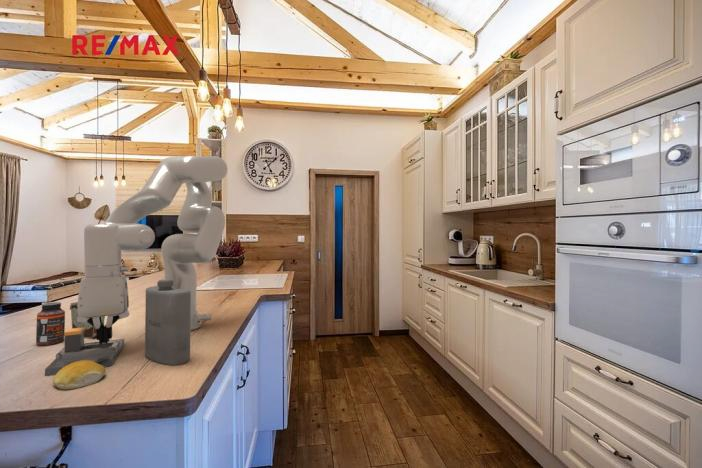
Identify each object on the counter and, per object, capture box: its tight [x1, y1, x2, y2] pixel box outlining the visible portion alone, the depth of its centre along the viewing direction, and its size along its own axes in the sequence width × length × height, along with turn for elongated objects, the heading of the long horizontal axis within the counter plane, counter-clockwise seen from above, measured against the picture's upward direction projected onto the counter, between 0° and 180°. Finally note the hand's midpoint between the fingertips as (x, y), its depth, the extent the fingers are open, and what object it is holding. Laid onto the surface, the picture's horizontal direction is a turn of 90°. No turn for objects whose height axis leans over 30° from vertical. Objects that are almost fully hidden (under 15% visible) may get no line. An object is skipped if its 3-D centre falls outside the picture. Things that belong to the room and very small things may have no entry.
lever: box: [64, 327, 85, 352], centre depth 79 cm, size 3×3×6 cm
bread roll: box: [52, 360, 107, 390], centre depth 68 cm, size 8×9×4 cm
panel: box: [44, 338, 125, 377], centre depth 80 cm, size 12×17×3 cm
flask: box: [144, 278, 191, 366], centre depth 81 cm, size 15×6×20 cm, turn 60°
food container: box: [69, 301, 106, 340], centre depth 99 cm, size 12×6×10 cm, turn 71°
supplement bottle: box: [35, 301, 66, 346], centre depth 91 cm, size 6×6×11 cm
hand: (104, 341), depth 82 cm, fingers closed
